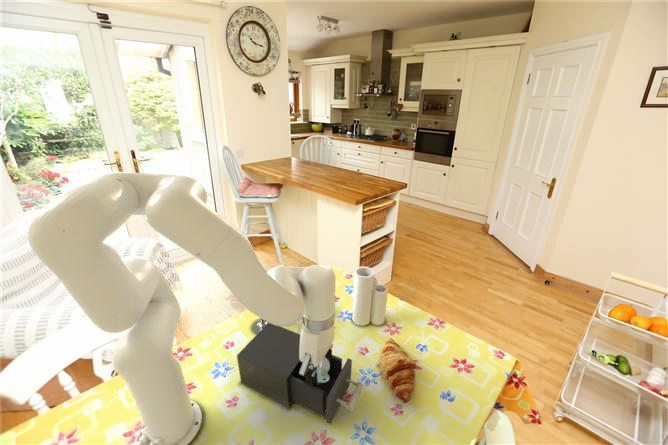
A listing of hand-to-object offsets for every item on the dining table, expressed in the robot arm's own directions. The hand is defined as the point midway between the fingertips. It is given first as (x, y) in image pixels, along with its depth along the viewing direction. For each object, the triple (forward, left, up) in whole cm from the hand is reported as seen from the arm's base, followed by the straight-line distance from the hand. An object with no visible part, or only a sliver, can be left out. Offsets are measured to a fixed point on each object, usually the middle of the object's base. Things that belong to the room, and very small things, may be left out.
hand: (318, 370), depth 74 cm
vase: (+33, -2, -9) cm, 34 cm away
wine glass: (+13, +29, -9) cm, 33 cm away
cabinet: (0, +13, -9) cm, 16 cm away
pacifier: (0, 0, -2) cm, 2 cm away
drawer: (0, -1, -8) cm, 8 cm away
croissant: (+16, -17, -9) cm, 25 cm away
